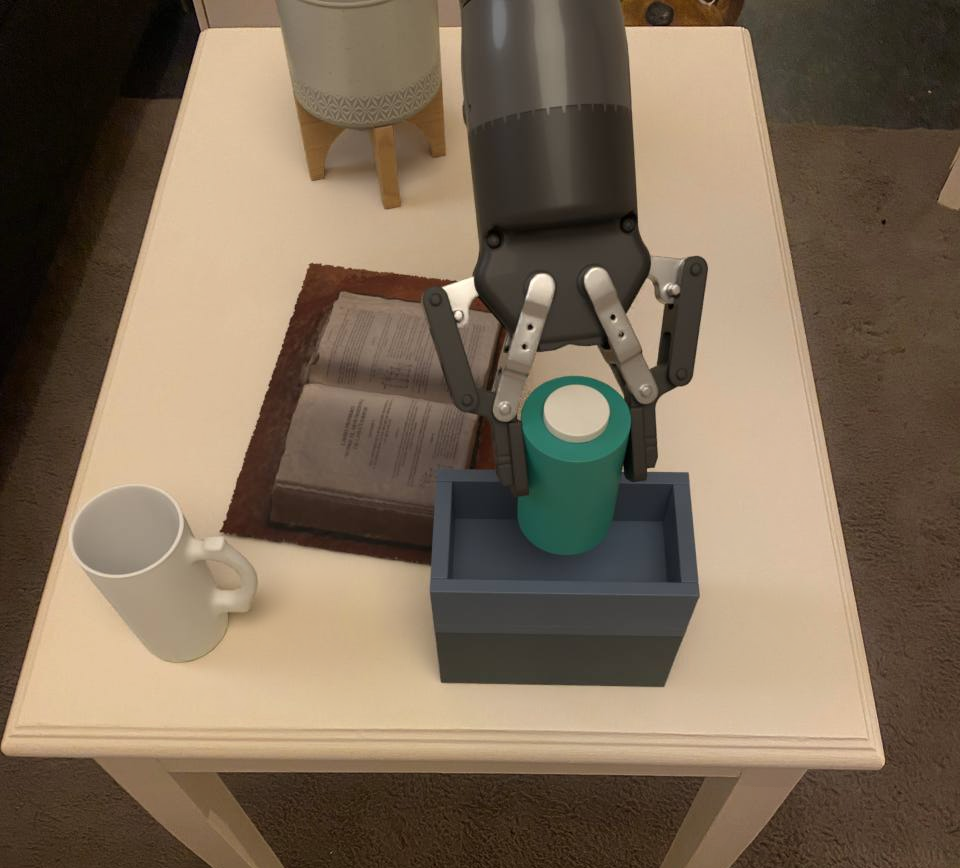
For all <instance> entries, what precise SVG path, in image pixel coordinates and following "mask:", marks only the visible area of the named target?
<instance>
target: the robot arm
mask: <svg viewBox="0 0 960 868" xmlns="http://www.w3.org/2000/svg"><path fill="white" fill-rule="evenodd" d="M458 3H459V12H460V28H461V29H460V30H461V31H460V34H461V36H460V37H461V39H460V73H461V85H462V86H461V87H462V96H463V100H462V106H461V107H462V118H463V119H462V120H463V124H464V125H465V127H466V133H467V144H468V153H469V162H470V163H469V165H470V172H471V181H472V191H473V201H474V210H475V211H474V212H475V218H476V227H477V239H478V256H477V259H476V264H475V266H474V268H473V270H472V276H470V277H467V278H465V279H461V280H457V281H458V282H455V283H452V284H449V285H446V286H443V287H440V286H431V287H429V288H428V289H426V291H425V292H424V293H423V295H422V297H421V305H422V309H423V312H424V315H425V318H426V321H427V324H428V327H429V331H430V334H431V337H432V340H433V343H434V346H435V349H436V353H437V356H438V359H439V362H440V365H441V368H442V371H443V375H444V378H445V381H446V384H447V387H448V390H449V394H450V397H451V400H452V402H453V404H454V405H455V406H456V407H457V408H458V409H459V410H460V411H462V412H465V413H471V414H476V415H480V416H483V417H486V418H487V419H488V421H489V423H490V425H491V433H492V442H493V451H494V460H495V470H496V475H497V477H498V478H499V480H500V482H501V484H502V485H503V486H504V487H506V486H510V489H511V493H512V494H513V495H514V497H520V496H528V495H529V485H528V475H527V465H526V454H525V444H524V435H523V429H522V427H523V424H522V421H521V419H519V418H518V412H519V411H518V410H519V408H520V404H521V401H522V397H523V393H524V390H525V387H526V384H527V379H528V377H529V375H530V374H531V371H532V368H533V365H534V361H535V357H536V355H537V353H544V352H553V351H557V350H559V349H561V348H565V347H567V346H568V345H571V346H577V347H594V346H597V348H598V350H599V352H600V354H601V356H602V358H603V360H604V361H605V363H606V364H607V365H608V367H609V369H610V370H611V373H612V374H613V376H614V379H615V381H616V383H617V385H618V387H619V388H620V391H621V393H622V396H623V398H624V400H625V402H626V403H627V405H628V408H629V411H630V414H631V427H630V433H629V438H628V443H627V448H626V453H625V458H624V463H623V469H622V471H624V475H625V478H626V479H627V480H629V481H631V482H639V481H646V480H647V472H648V469H654V468H656V465H657V461H658V458H659V451H658V433H657V432H658V431H657V415H656V407H657V403H658V401H659V399H660V398H661V397H662V396H663V395H665V394H666V393H669V392H670V391H672V390H674V389H677V388H678V387H679V388H680V387H685V386H687V385H689V384H690V383H691V382H692V379H693V378H694V371H695V365H696V357H697V350H698V344H699V337H700V330H701V329H700V328H701V323H702V315H703V308H704V301H705V294H706V288H707V287H706V286H707V279H708V273H709V264H708V262H707V260H706V259H705V258H704V257H703V256H701V255H690V256H686V257H682V258H680V257H668V256H659V255H651V253H650V250H649V249H648V247H647V245H646V244H645V242H644V240H643V237H642V235H641V232H640V228H639V210H638V192H637V191H638V190H637V172H636V156H635V155H636V153H635V139H634V138H635V137H634V122H633V119H634V118H633V106H632V105H633V103H632V85H631V72H630V71H631V70H630V69H631V67H630V55H629V44H628V43H629V42H628V37H627V31H626V24H625V19H624V15H623V9H622V4H621V3H622V2H621V0H458ZM647 279H648V280H649V281H650V282H652V285H653V289H654V298H655V299H656V301H657V302H659V303H660V304H662V305H664V306H663V313H662V320H661V327H660V328H661V329H660V336H659V343H658V350H657V351H658V352H657V358H656V359H657V360H656V365H655V366H653V367H649V365H648V363H647V360H646V359H645V356H644V354H643V348H642V345H641V343H640V341H639V338H638V337H637V334H636V332H635V330H634V328H633V326H632V324H631V322H630V319H629V317H628V315H627V313H628V312H629V310H630V308H632V305H633V303H634V302H635V299H636V298H637V297H638V294H639V292H640V291H641V289H642V287H643V285H644V284H645V282H646V281H647ZM476 297H478V298H479V299H480V300H481V301H482V303H483V304H484V305H485V306H486V307H487V308H488V310H489V311H490V312H491V313H492V314H493V315H494V317H495V318H496V319H497V320H498V321H499V323H500V324H501V325H502V326H503V327H504V328H505V330H506V331H507V333H506V337H505V340H504V344H503V347H502V351H501V354H500V358H499V362H498V369H497V373H496V376H495V380H494V384H493V387H492V391H488V390H484V389H479V388H476V385H475V382H474V378H473V375H472V372H471V369H470V365H469V362H468V359H467V356H466V352H465V349H464V346H463V343H462V339H461V336H460V333H459V329H462V328H464V327H465V326H466V325H467V324H468V322H469V320H470V311H469V307H470V304H471V302H472V300H473V299H474V298H476Z"/></svg>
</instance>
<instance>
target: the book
mask: <svg viewBox="0 0 960 868" xmlns="http://www.w3.org/2000/svg"><path fill="white" fill-rule="evenodd" d="M304 276H305V277H304V280H302V285H301V290H300V291H299V293H298V295H297V297H296V303H295V304H294V308H293V309H294V311H293V314H292V316H290V319H289V322H288V327H287V328H286V332H285V334H284V338H283V340H282V341H283V343H282V344H281V349H280V351H279V354H278V355H277V360H276V362H275V367H274V368H273V371H272V373H271V376H270V377H271V378H270V380H269V382H268V384H267V386H268V388H267V391H265V394H264V399H263V401H262V405H261V406H260V410H259V413H258V415H259V416H258V418H257V419H256V423H255V424H256V425H254V426H255V428H254V430H253V431H252V435H251V436H250V440H249V443H248V445H247V449H246V451H245V453H244V458H243V462H242V466H241V470H240V472H239V473H238V476H237V478H236V481H235V487H234V489H233V494H231V495H232V496H231V499H230V501H231V502H230V503H229V505H228V510H227V512H226V514H225V515H226V517H225V518H226V519H224V520H222V523H223V524H222V527H221V528H220V529H219V530H218V531H219V533H223V534H225V535H230V536H232V535H236V536H237V537H239V536H243V537H244V538H245V537H248V536H250V537H253V538H254V539H266V540H267V541H271V540H272V541H273V542H279V543H282V542H283V541H284V543H285V544H286V543H288V542H289V543H292V544H297V545H299V546H305V547H309V546H311V547H314V548H319V549H321V548H323V550H330V551H337V552H344V553H348V554H349V553H354V554H357V555H364V554H365V555H366V556H371V557H376V558H380V559H381V558H382V559H383V558H385V559H390V560H393V561H394V560H398V561H399V560H400V561H404V562H410V563H413V564H415V563H417V564H420V565H422V564H427V565H430V566H431V559H432V542H433V525H434V508H435V491H436V473H437V469H471V470H495V460H494V451H493V442H492V433H491V425H490V423H489V421H488V419H487V418H486V417H483V416H480V415H476V414H471V413H465V412H462V411H460V410H459V409H458V408H457V407H456V406H455V405H454V404H453V402H452V400H451V397H450V394H449V390H448V387H447V384H446V381H445V378H444V375H443V371H442V368H441V365H440V362H439V359H438V356H437V353H436V349H435V346H434V343H433V340H432V337H431V334H430V331H429V327H428V324H427V321H426V318H425V315H424V312H423V309H422V305H421V297H422V295H423V293H424V292H425V291H426V289H428V288H429V287H431V286H440V287H443V286H446V285H449V284H452V283H455V282H458V281H459V280H456V279H454V280H450V279H448V278H447V279H445V278H443V279H441V278H435V277H429V278H428V277H425V276H418V275H411V274H403V273H396V272H393V271H392V272H390V271H377V270H375V271H374V270H369V269H365V268H352V267H347V268H345V267H344V266H340V265H337V266H335V265H333V264H332V265H331V264H324V265H323V264H322V263H314V262H311V263H309V264H308V267H307V268H306V273H305V275H304ZM469 311H470V320H469V322H468V324H467V325H466V326H465V327H464V328H462V329H459V333H460V336H461V339H462V343H463V346H464V349H465V352H466V356H467V359H468V362H469V365H470V369H471V372H472V375H473V378H474V382H475V385H476V388H479V389H484V390H488V391H492V387H493V384H494V380H495V376H496V373H497V369H498V362H499V358H500V354H501V351H502V347H503V344H504V340H505V337H506V333H507V331H506V330H505V328H504V327H503V326H502V325H501V324H500V323H499V321H498V320H497V319H496V318H495V317H494V315H493V314H492V313H491V312H490V311H489V310H488V308H487V307H486V306H485V305H484V304H483V303H482V301H481V300H480V299H479V298H478V297H476V298H474V299H473V300H472V302H471V304H470V307H469Z"/></svg>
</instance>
